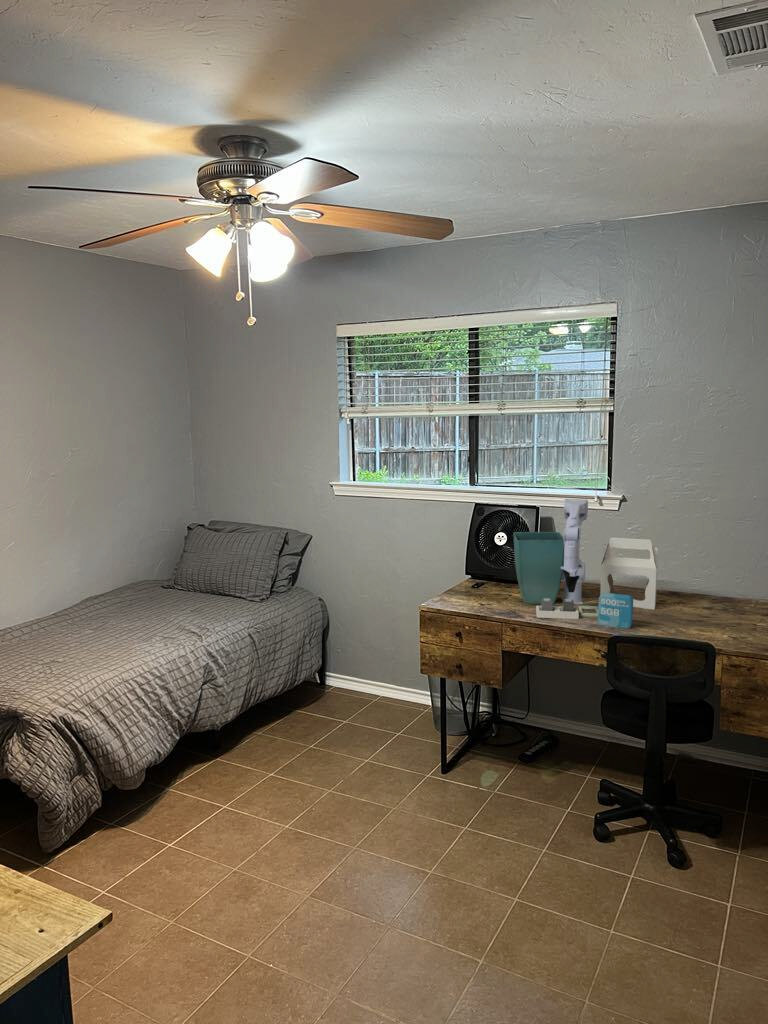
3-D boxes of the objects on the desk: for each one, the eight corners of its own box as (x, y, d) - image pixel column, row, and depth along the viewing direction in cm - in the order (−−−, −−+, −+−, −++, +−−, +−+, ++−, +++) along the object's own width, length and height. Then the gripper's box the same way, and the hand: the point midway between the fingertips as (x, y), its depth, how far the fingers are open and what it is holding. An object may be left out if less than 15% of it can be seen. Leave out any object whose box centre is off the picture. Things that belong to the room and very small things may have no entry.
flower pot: (512, 594, 334) (513, 531, 330) (558, 594, 333) (559, 531, 328) (515, 606, 315) (516, 539, 311) (564, 607, 313) (566, 540, 309)
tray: (578, 609, 310) (578, 605, 310) (606, 609, 308) (606, 606, 308) (581, 616, 299) (581, 613, 299) (609, 617, 298) (609, 614, 297)
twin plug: (541, 613, 303) (541, 597, 302) (551, 613, 302) (551, 598, 301) (541, 616, 299) (542, 600, 298) (552, 616, 299) (552, 600, 298)
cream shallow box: (535, 612, 305) (536, 603, 305) (576, 614, 303) (576, 605, 302) (536, 618, 298) (537, 609, 297) (578, 620, 295) (578, 610, 295)
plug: (562, 613, 302) (562, 598, 301) (572, 614, 301) (573, 598, 300) (563, 616, 298) (563, 601, 297) (573, 617, 297) (574, 601, 296)
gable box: (656, 601, 320) (659, 536, 316) (655, 609, 308) (658, 542, 304) (602, 597, 328) (604, 533, 324) (599, 605, 316) (601, 539, 312)
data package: (597, 625, 288) (598, 595, 286) (600, 622, 292) (601, 592, 290) (630, 629, 283) (631, 598, 281) (632, 626, 287) (633, 595, 285)
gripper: (559, 552, 309) (558, 584, 311) (562, 560, 294) (561, 594, 297) (577, 552, 307) (576, 585, 310) (581, 560, 293) (580, 594, 296)
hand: (570, 589), depth 303 cm, fingers open, 7 cm apart
